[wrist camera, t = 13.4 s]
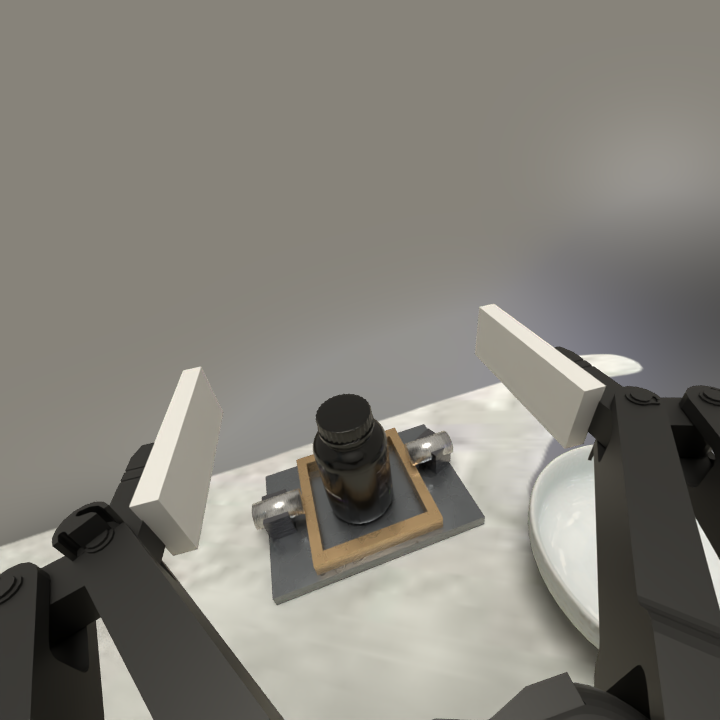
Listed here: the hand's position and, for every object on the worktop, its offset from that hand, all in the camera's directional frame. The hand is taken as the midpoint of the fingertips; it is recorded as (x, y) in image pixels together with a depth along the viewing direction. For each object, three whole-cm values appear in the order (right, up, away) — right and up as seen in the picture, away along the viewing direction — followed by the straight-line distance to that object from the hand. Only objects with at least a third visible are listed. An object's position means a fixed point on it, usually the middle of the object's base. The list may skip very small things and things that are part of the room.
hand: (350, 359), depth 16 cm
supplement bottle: (+1, -14, +19) cm, 24 cm away
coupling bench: (+1, -15, +20) cm, 25 cm away
